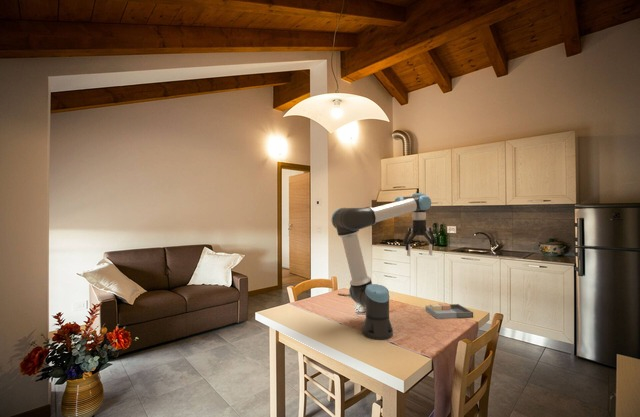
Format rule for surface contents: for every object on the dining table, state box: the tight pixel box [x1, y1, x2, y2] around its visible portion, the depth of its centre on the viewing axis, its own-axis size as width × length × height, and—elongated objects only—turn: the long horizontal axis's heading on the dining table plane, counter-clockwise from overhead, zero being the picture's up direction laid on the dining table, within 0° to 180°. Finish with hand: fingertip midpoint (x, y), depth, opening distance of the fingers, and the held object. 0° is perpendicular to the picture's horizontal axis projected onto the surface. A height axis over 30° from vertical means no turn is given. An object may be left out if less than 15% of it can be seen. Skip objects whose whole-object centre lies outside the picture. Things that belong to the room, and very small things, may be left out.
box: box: [449, 303, 474, 319], centre depth 179 cm, size 15×10×3 cm, turn 6°
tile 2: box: [438, 302, 451, 310], centre depth 179 cm, size 5×5×2 cm
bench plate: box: [425, 305, 458, 320], centre depth 178 cm, size 14×12×3 cm
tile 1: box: [429, 303, 442, 311], centre depth 178 cm, size 5×5×2 cm
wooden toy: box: [337, 292, 352, 299], centre depth 216 cm, size 22×10×14 cm, turn 66°
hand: (419, 255), depth 178 cm, fingers open, 13 cm apart
